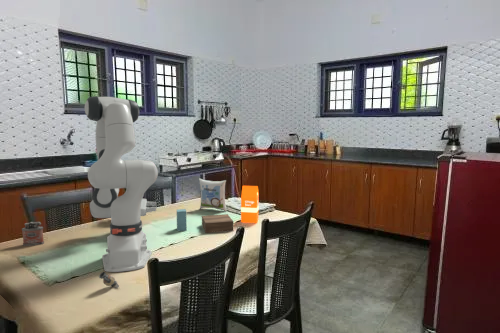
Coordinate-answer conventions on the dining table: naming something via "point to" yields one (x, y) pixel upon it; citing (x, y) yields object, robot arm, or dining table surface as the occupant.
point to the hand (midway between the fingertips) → (156, 206)
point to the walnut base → (217, 223)
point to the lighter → (32, 234)
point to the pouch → (212, 194)
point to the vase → (109, 280)
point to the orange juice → (249, 204)
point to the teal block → (181, 220)
